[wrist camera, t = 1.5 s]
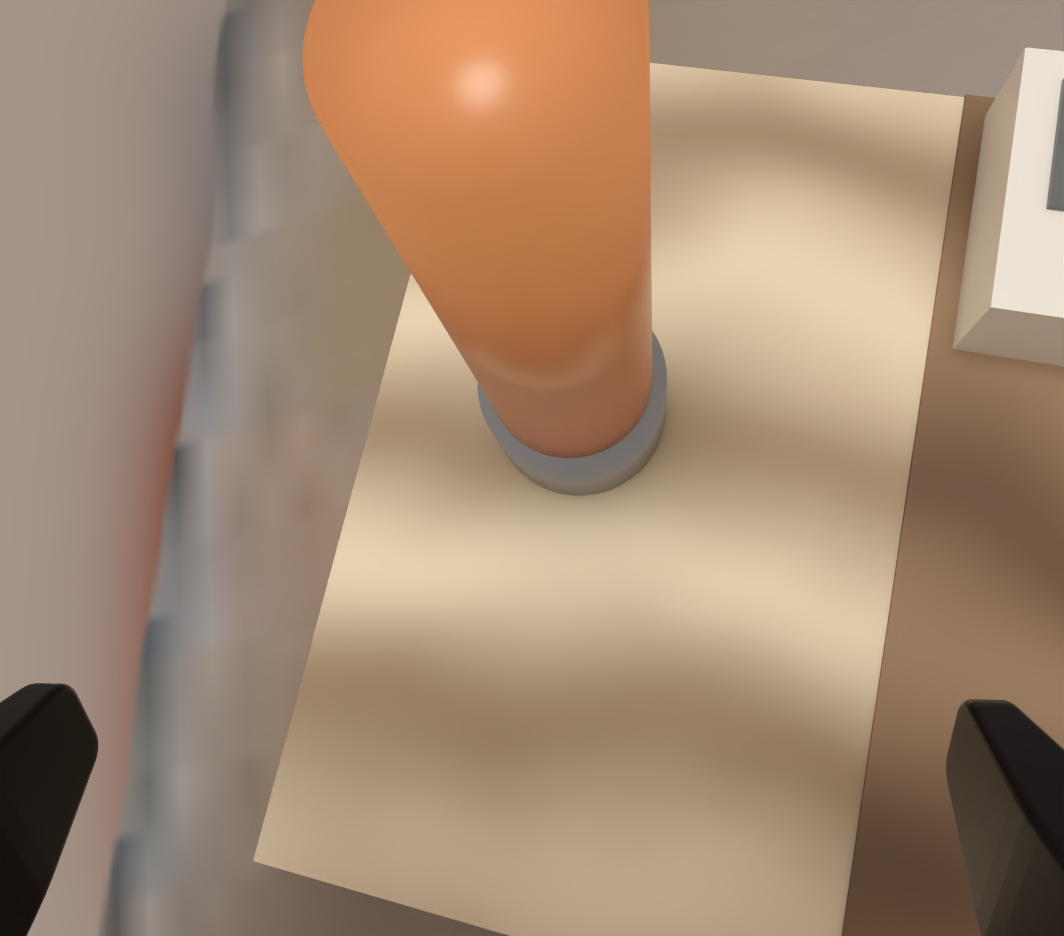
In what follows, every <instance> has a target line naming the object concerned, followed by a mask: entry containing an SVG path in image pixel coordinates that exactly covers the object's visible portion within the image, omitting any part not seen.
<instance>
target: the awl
mask: <svg viewBox="0 0 1064 936" xmlns="http://www.w3.org/2000/svg"><path fill="white" fill-rule="evenodd" d="M303 74H304V80H305V85H306V90H307V95H308V98H309V100H310V103H311V106H312V109H313V111H314V114H315V115H316V117H317V119H318V121H319V123H320V125H321V126H322V128H323V130H324V132H325V133H326V135H327V137H328V138H329V140H330V141H331V143H332V145H333V146H334V148H335V150H336V151H337V153H338V154H339V156H340V158H341V159H342V161H343V163H344V164H345V166H346V168H347V169H348V171H349V172H350V174H351V176H352V177H353V179H354V181H355V182H356V184H357V186H358V187H359V189H360V190H361V192H362V194H363V195H364V197H365V199H366V200H367V202H368V204H369V205H370V207H371V208H372V210H373V212H374V213H375V215H376V217H377V218H378V220H379V222H380V223H381V225H382V226H383V228H384V230H385V231H386V233H387V235H388V236H389V238H390V240H391V241H392V243H393V244H394V246H395V248H396V249H397V251H398V253H399V254H400V256H401V258H402V259H403V261H404V262H405V264H406V266H407V267H408V269H409V271H410V272H411V274H412V275H413V277H414V279H415V280H416V282H417V284H418V285H419V287H420V289H421V290H422V292H423V293H424V295H425V297H426V298H427V300H428V302H429V303H430V305H431V307H432V308H433V310H434V311H435V313H436V315H437V316H438V318H439V320H440V321H441V323H442V325H443V326H444V328H445V329H446V331H447V333H448V334H449V336H450V338H451V339H452V341H453V343H454V344H455V346H456V347H457V349H458V351H459V352H460V354H461V356H462V357H463V359H464V361H465V362H466V364H467V365H468V367H469V369H470V370H471V372H472V374H473V375H474V377H475V379H476V380H477V382H478V383H477V389H478V399H479V403H480V407H481V411H482V414H483V416H484V419H485V421H486V423H487V425H488V427H489V429H490V430H491V432H492V433H493V435H494V436H495V438H496V439H497V441H498V442H499V444H500V445H501V447H502V448H503V450H504V451H505V453H506V454H507V455H508V457H509V458H510V460H511V461H512V462H513V464H514V465H515V466H516V468H517V469H518V470H519V471H520V472H521V473H522V474H523V475H524V476H526V477H527V478H528V479H530V480H531V481H532V482H534V483H536V484H537V485H539V486H541V487H543V488H545V489H548V490H550V491H553V492H557V493H561V494H566V495H592V494H598V493H602V492H606V491H609V490H611V489H614V488H616V487H618V486H620V485H622V484H624V483H625V482H627V481H628V480H630V479H631V478H633V477H634V476H635V475H636V474H638V473H639V472H640V471H641V470H642V469H643V468H644V467H645V465H646V464H647V463H648V462H649V460H650V459H651V458H652V456H653V454H654V453H655V451H656V449H657V447H658V445H659V443H660V440H661V438H662V434H663V430H664V425H665V418H666V394H667V369H666V363H665V358H664V354H663V351H662V348H661V346H660V344H659V341H658V339H657V337H656V336H655V334H654V332H653V331H652V272H651V147H650V23H649V6H648V0H315V3H314V6H313V8H312V11H311V13H310V16H309V20H308V24H307V28H306V32H305V36H304V47H303Z"/></svg>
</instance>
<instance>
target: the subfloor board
mask: <svg viewBox="0 0 1064 936" xmlns="http://www.w3.org/2000/svg"><path fill="white" fill-rule="evenodd" d="M994 100H995V98H991V97H982V96H973V95H965V97H957V96H948V95H939V94H930V93H920V92H911V91H902V90H893V89H884V88H875V87H865V86H856V85H847V84H838V83H829V82H820V81H810V80H801V79H792V78H783V77H774V76H765V75H755V74H746V73H737V72H728V71H719V70H710V69H700V68H691V67H682V66H673V65H664V64H655V63H650V147H651V272H652V331H653V332H654V334H655V336H656V337H657V339H658V341H659V344H660V346H661V348H662V351H663V354H664V358H665V363H666V369H667V394H666V418H665V425H664V430H663V434H662V438H661V440H660V443H659V445H658V447H657V449H656V451H655V453H654V454H653V456H652V458H651V459H650V460H649V462H648V463H647V464H646V465H645V467H644V468H643V469H642V470H641V471H640V472H639V473H638V474H636V475H635V476H634V477H633V478H631V479H630V480H628V481H627V482H625V483H624V484H622V485H620V486H618V487H616V488H614V489H611V490H609V491H606V492H602V493H598V494H592V495H566V494H561V493H557V492H553V491H550V490H548V489H545V488H543V487H541V486H539V485H537V484H536V483H534V482H532V481H531V480H530V479H528V478H527V477H526V476H524V475H523V474H522V473H521V472H520V471H519V470H518V469H517V468H516V466H515V465H514V464H513V462H512V461H511V460H510V458H509V457H508V455H507V454H506V453H505V451H504V450H503V448H502V447H501V445H500V444H499V442H498V441H497V439H496V438H495V436H494V435H493V433H492V432H491V430H490V429H489V427H488V425H487V423H486V421H485V419H484V416H483V414H482V411H481V407H480V403H479V399H478V389H477V383H478V382H477V380H476V379H475V377H474V375H473V374H472V372H471V370H470V369H469V367H468V365H467V364H466V362H465V361H464V359H463V357H462V356H461V354H460V352H459V351H458V349H457V347H456V346H455V344H454V343H453V341H452V339H451V338H450V336H449V334H448V333H447V331H446V329H445V328H444V326H443V325H442V323H441V321H440V320H439V318H438V316H437V315H436V313H435V311H434V310H433V308H432V307H431V305H430V303H429V302H428V300H427V298H426V297H425V295H424V293H423V292H422V290H421V289H420V287H419V285H418V284H417V282H416V280H415V279H414V277H413V275H412V274H411V275H410V278H409V282H408V286H407V290H406V293H405V297H404V301H403V304H402V308H401V312H400V316H399V319H398V323H397V327H396V330H395V334H394V338H393V342H392V345H391V349H390V353H389V357H388V360H387V364H386V368H385V371H384V375H383V379H382V383H381V386H380V390H379V394H378V398H377V401H376V405H375V409H374V412H373V416H372V420H371V424H370V427H369V431H368V435H367V438H366V442H365V446H364V450H363V453H362V457H361V461H360V465H359V468H358V472H357V476H356V479H355V483H354V487H353V491H352V494H351V498H350V502H349V506H348V509H347V513H346V517H345V520H344V524H343V528H342V532H341V535H340V539H339V543H338V547H337V550H336V554H335V558H334V561H333V565H332V569H331V573H330V576H329V580H328V584H327V587H326V591H325V595H324V599H323V602H322V606H321V610H320V614H319V617H318V621H317V625H316V628H315V632H314V636H313V640H312V643H311V647H310V651H309V655H308V658H307V662H306V666H305V669H304V673H303V677H302V681H301V684H300V688H299V692H298V695H297V699H296V703H295V707H294V710H293V714H292V718H291V722H290V725H289V729H288V733H287V736H286V740H285V744H284V748H283V751H282V755H281V759H280V763H279V766H278V770H277V774H276V777H275V781H274V785H273V789H272V792H271V796H270V800H269V804H268V807H267V811H266V815H265V818H264V822H263V826H262V830H261V833H260V837H259V841H258V844H257V848H256V852H255V856H254V859H253V861H254V862H258V863H261V864H265V865H268V866H271V867H275V868H278V869H282V870H285V871H289V872H292V873H296V874H299V875H302V876H306V877H309V878H313V879H316V880H320V881H323V882H326V883H330V884H333V885H337V886H340V887H344V888H347V889H350V890H354V891H357V892H361V893H364V894H368V895H371V896H375V897H378V898H381V899H385V900H388V901H392V902H395V903H399V904H402V905H405V906H409V907H412V908H416V909H419V910H423V911H426V912H430V913H433V914H436V915H440V916H443V917H447V918H450V919H454V920H457V921H460V922H464V923H467V924H471V925H474V926H478V927H481V928H484V929H488V930H491V931H495V932H498V933H502V934H505V935H509V936H981V935H980V931H979V927H978V923H977V919H976V914H975V909H974V905H973V900H972V895H971V891H970V886H969V882H968V877H967V872H966V868H965V863H964V858H963V854H962V849H961V844H960V840H959V835H958V830H957V826H956V821H955V816H954V812H953V807H952V802H951V798H950V793H949V789H948V784H947V777H946V757H947V753H948V748H949V744H950V740H951V736H952V732H953V728H954V724H955V719H956V715H957V711H958V708H959V706H960V705H961V703H962V702H963V701H965V700H969V699H985V700H1006V701H1009V702H1011V703H1013V704H1014V705H1016V706H1017V707H1018V708H1019V709H1021V710H1022V711H1023V712H1024V713H1025V714H1026V715H1027V716H1028V717H1029V718H1031V719H1032V720H1033V721H1034V722H1035V723H1036V724H1037V725H1038V726H1039V727H1041V728H1042V729H1043V730H1044V731H1045V732H1046V733H1047V734H1048V735H1049V736H1051V737H1052V738H1053V739H1054V740H1055V741H1056V742H1057V743H1058V744H1059V745H1061V746H1062V747H1063V748H1064V366H1058V365H1051V364H1045V363H1039V362H1032V361H1026V360H1019V359H1013V358H1007V357H1000V356H994V355H988V354H981V353H975V352H968V351H962V350H956V349H952V347H953V340H954V333H955V326H956V318H957V311H958V304H959V297H960V290H961V283H962V276H963V269H964V262H965V255H966V248H967V240H968V233H969V226H970V219H971V212H972V205H973V198H974V191H975V184H976V177H977V170H978V162H979V155H980V148H981V141H982V134H983V127H984V120H985V115H986V113H987V111H988V110H989V108H990V106H991V105H992V103H993V101H994Z"/></svg>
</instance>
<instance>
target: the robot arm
mask: <svg viewBox="0 0 1064 936" xmlns="http://www.w3.org/2000/svg"><path fill="white" fill-rule="evenodd" d="M97 753H98V738H97V734H96V732H95V730H94V728H93V726H92V724H91V722H90V720H89V718H88V716H87V714H86V712H85V710H84V708H83V706H82V704H81V702H80V700H79V698H78V696H77V694H76V692H75V691H74V689H73V688H71V687H70V686H68V685H66V684H49V683H48V684H47V683H35V684H30V685H28V686H25V687H24V688H22V689H20V690H18V691H17V692H15V693H14V694H13V695H11V696H9V697H8V698H6V699H5V700H3V701H2V702H0V936H27V934H28V932H29V930H30V928H31V925H32V923H33V921H34V919H35V917H36V915H37V913H38V910H39V908H40V906H41V904H42V902H43V899H44V897H45V895H46V892H47V889H48V887H49V885H50V882H51V880H52V877H53V875H54V872H55V870H56V867H57V864H58V862H59V859H60V856H61V853H62V851H63V848H64V845H65V843H66V839H67V837H68V834H69V832H70V829H71V826H72V824H73V821H74V818H75V815H76V812H77V810H78V807H79V804H80V802H81V799H82V796H83V794H84V791H85V788H86V785H87V783H88V780H89V777H90V775H91V772H92V769H93V767H94V764H95V761H96V757H97ZM946 777H947V784H948V789H949V793H950V798H951V802H952V807H953V812H954V816H955V821H956V826H957V830H958V835H959V840H960V844H961V849H962V854H963V858H964V863H965V868H966V872H967V877H968V882H969V886H970V891H971V895H972V900H973V905H974V909H975V914H976V919H977V923H978V927H979V931H980V935H981V936H1064V748H1063V747H1062V746H1061V745H1059V744H1058V743H1057V742H1056V741H1055V740H1054V739H1053V738H1052V737H1051V736H1049V735H1048V734H1047V733H1046V732H1045V731H1044V730H1043V729H1042V728H1041V727H1039V726H1038V725H1037V724H1036V723H1035V722H1034V721H1033V720H1032V719H1031V718H1029V717H1028V716H1027V715H1026V714H1025V713H1024V712H1023V711H1022V710H1021V709H1019V708H1018V707H1017V706H1016V705H1014V704H1013V703H1011V702H1009V701H1006V700H985V699H969V700H965V701H963V702H962V703H961V705H960V706H959V708H958V711H957V715H956V719H955V724H954V728H953V732H952V736H951V740H950V744H949V748H948V753H947V757H946Z"/></svg>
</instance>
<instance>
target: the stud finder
mask: <svg viewBox="0 0 1064 936" xmlns="http://www.w3.org/2000/svg"><path fill="white" fill-rule="evenodd" d="M952 349H956V350H962V351H968V352H975V353H981V354H988V355H994V356H1000V357H1007V358H1013V359H1019V360H1026V361H1032V362H1039V363H1045V364H1051V365H1058V366H1064V51H1054V50H1044V49H1034V48H1025V49H1024V51H1023V53H1022V54H1021V56H1020V58H1019V59H1018V61H1017V63H1016V64H1015V66H1014V68H1013V69H1012V71H1011V73H1010V74H1009V76H1008V78H1007V79H1006V81H1005V83H1004V85H1003V86H1002V88H1001V90H1000V91H999V93H998V95H997V96H996V98H995V100H994V101H993V103H992V105H991V106H990V108H989V110H988V111H987V113H986V115H985V120H984V127H983V134H982V141H981V148H980V155H979V162H978V170H977V177H976V184H975V191H974V198H973V205H972V212H971V219H970V226H969V233H968V240H967V248H966V255H965V262H964V269H963V276H962V283H961V290H960V297H959V304H958V311H957V318H956V326H955V333H954V340H953V347H952Z"/></svg>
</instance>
